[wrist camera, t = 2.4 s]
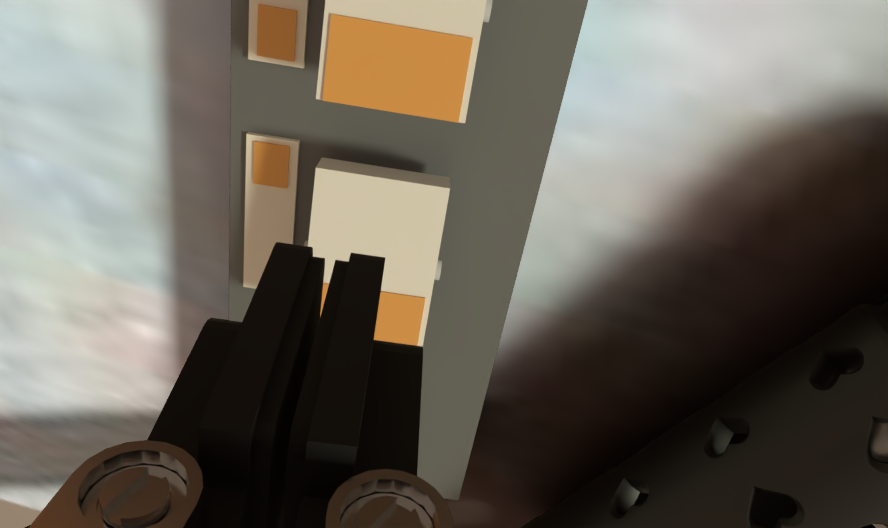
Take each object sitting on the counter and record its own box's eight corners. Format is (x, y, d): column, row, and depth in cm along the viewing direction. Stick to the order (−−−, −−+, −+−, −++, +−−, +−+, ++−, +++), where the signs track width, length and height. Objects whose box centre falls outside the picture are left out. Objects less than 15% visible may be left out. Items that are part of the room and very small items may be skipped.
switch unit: (259, -242, 22) (225, -252, 19) (612, -173, 23) (638, -171, 19) (243, 425, 36) (222, 485, 33) (458, 453, 37) (458, 514, 34)
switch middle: (316, 156, 25) (309, 167, 23) (455, 178, 25) (456, 190, 24) (299, 322, 27) (292, 341, 26) (426, 340, 27) (426, 360, 26)
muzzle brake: (485, 483, 39) (494, 680, 30) (1000, 115, 27) (1256, 257, 19) (603, 560, 42) (642, 759, 33) (1104, 261, 31) (1363, 439, 22)
